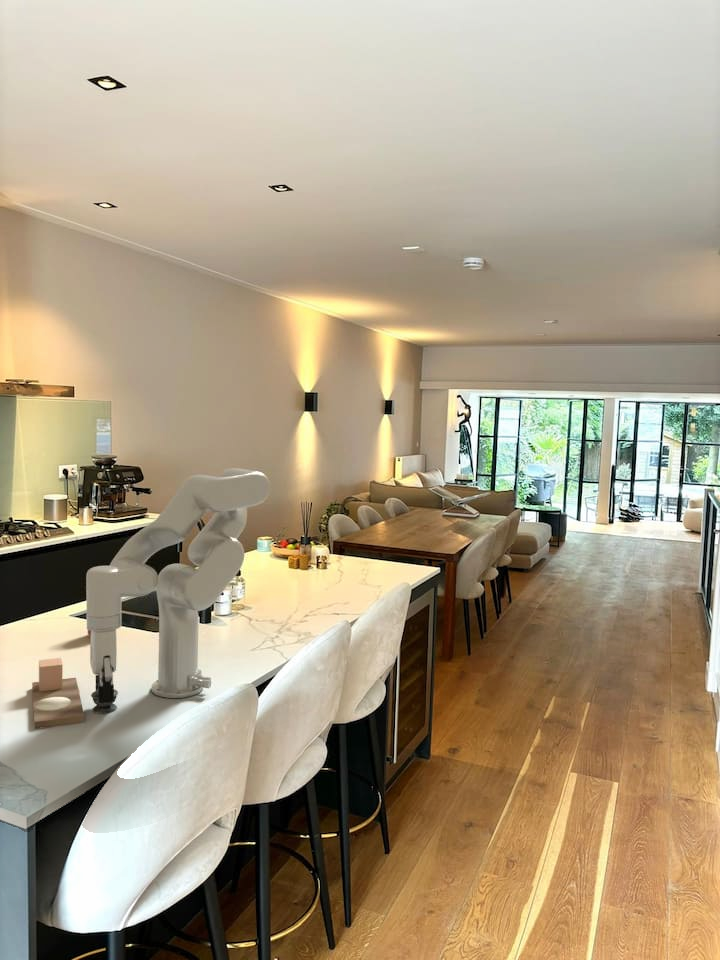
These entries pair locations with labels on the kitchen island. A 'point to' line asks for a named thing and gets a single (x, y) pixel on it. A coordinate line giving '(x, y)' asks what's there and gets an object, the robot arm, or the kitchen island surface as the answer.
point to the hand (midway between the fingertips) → (104, 695)
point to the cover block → (50, 674)
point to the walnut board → (57, 705)
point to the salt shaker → (103, 707)
